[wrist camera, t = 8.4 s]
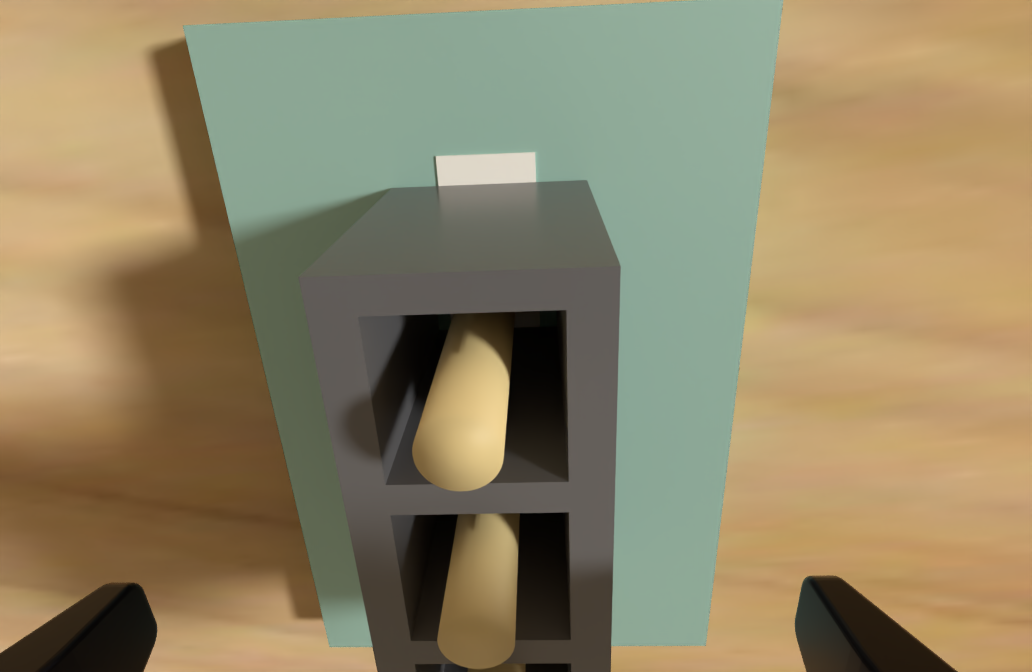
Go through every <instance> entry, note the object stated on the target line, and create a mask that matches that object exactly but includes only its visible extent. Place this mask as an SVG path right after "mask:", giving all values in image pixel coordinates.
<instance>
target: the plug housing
mask: <svg viewBox="0 0 1032 672" xmlns="http://www.w3.org/2000/svg"><path fill="white" fill-rule="evenodd" d="M620 276H621V266H620V263H619V260H618V258H617V255H616V253H615V250H614V248H613V245H612V243H611V240H610V238H609V235H608V232H607V230H606V227H605V225H604V222H603V220H602V217H601V215H600V212H599V209H598V207H597V204H596V202H595V199H594V197H593V194H592V192H591V189H590V187H589V184H588V181H587V180H575V181H551V182H526V183H502V184H477V185H453V186H428V187H404V188H391V189H390V190H389V191H388V192H387V193H386V194H385V195H384V196H383V197H382V198H381V199H380V200H379V201H378V202H377V203H376V204H375V205H374V206H372V207H371V208H370V209H369V210H368V211H367V212H366V213H365V214H364V215H363V216H362V217H361V218H360V219H359V220H358V221H357V222H356V223H355V224H354V225H353V226H351V227H350V228H349V229H348V230H347V231H346V232H345V233H344V234H343V235H342V236H341V237H340V238H339V239H338V240H337V241H336V242H335V243H334V244H333V245H332V246H331V247H329V248H328V249H327V250H326V251H325V252H324V253H323V254H322V255H321V256H320V257H319V258H318V259H317V260H316V261H315V262H314V263H313V264H312V265H311V266H310V267H309V268H307V269H306V270H305V271H304V272H303V273H302V274H301V275H300V276H299V277H298V278H299V283H300V288H301V293H302V298H303V303H304V308H305V313H306V318H307V323H308V328H309V333H310V338H311V343H312V348H313V353H314V358H315V363H316V368H317V373H318V378H319V383H320V388H321V393H322V398H323V403H324V407H325V412H326V417H327V422H328V427H329V432H330V437H331V442H332V447H333V452H334V457H335V462H336V467H337V472H338V477H339V482H340V487H341V492H342V497H343V502H344V507H345V512H346V517H347V522H348V527H349V532H350V537H351V542H352V547H353V552H354V557H355V562H356V567H357V572H358V577H359V582H360V587H361V591H362V596H363V601H364V606H365V611H366V616H367V621H368V626H369V631H370V636H371V641H372V646H373V651H374V656H375V661H376V666H377V671H378V672H468V668H466V667H463V666H460V665H457V664H455V663H453V662H451V661H450V660H449V659H447V658H446V657H445V656H444V655H443V654H442V652H441V651H440V649H439V646H438V642H437V637H438V631H439V625H440V619H441V613H442V607H443V601H444V595H445V590H446V584H447V578H448V572H449V566H450V560H451V554H452V548H453V542H454V536H455V530H456V524H457V518H458V514H500V513H520V518H519V546H518V574H517V603H516V631H515V648H514V651H513V653H512V654H511V656H510V657H509V658H508V659H507V660H506V661H504V662H503V663H501V664H525V672H611V636H612V596H613V556H614V516H615V476H616V436H617V396H618V356H619V316H620ZM553 310H557V326H553V327H520V328H514V335H513V347H512V360H511V372H510V385H509V398H508V410H507V423H506V435H505V448H504V460H503V464H502V467H501V469H500V471H499V473H498V474H497V476H496V477H495V478H494V479H493V480H492V481H491V482H489V483H488V484H486V485H485V486H483V487H481V488H478V489H475V490H471V491H451V490H446V489H443V488H440V487H438V486H436V485H434V484H432V483H431V482H429V481H428V480H427V479H426V478H424V477H423V476H422V474H421V473H420V472H419V471H418V469H417V467H416V465H415V463H414V460H413V455H412V447H413V442H414V439H415V436H416V433H417V429H418V426H419V423H420V420H421V417H422V413H423V410H424V407H425V404H426V401H427V397H428V394H429V391H430V388H431V385H432V381H433V378H434V375H435V372H436V369H437V365H438V362H439V359H440V356H441V353H442V349H443V346H444V343H445V340H446V337H447V333H448V330H439V323H438V314H457V313H489V312H521V311H553Z"/></svg>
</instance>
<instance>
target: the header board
mask: <svg viewBox="0 0 1032 672" xmlns="http://www.w3.org/2000/svg"><path fill="white" fill-rule="evenodd" d="M782 6H783V0H693V1H672V2H652V3H632V4H611V5H591V6H570V7H550V8H530V9H509V10H489V11H469V12H448V13H428V14H408V15H387V16H367V17H347V18H326V19H306V20H285V21H265V22H245V23H224V24H204V25H184V26H183V29H184V33H185V37H186V41H187V46H188V50H189V54H190V58H191V63H192V67H193V71H194V75H195V79H196V84H197V88H198V92H199V96H200V101H201V105H202V109H203V113H204V118H205V122H206V126H207V130H208V134H209V139H210V143H211V147H212V151H213V156H214V160H215V164H216V168H217V173H218V177H219V181H220V185H221V189H222V194H223V198H224V202H225V206H226V211H227V215H228V219H229V223H230V227H231V232H232V236H233V240H234V244H235V249H236V253H237V257H238V261H239V266H240V270H241V274H242V278H243V282H244V287H245V291H246V295H247V299H248V304H249V308H250V312H251V316H252V321H253V325H254V329H255V333H256V337H257V342H258V346H259V350H260V354H261V359H262V363H263V367H264V371H265V376H266V380H267V384H268V388H269V392H270V397H271V401H272V405H273V409H274V414H275V418H276V422H277V426H278V431H279V435H280V439H281V443H282V447H283V452H284V456H285V460H286V464H287V469H288V473H289V477H290V481H291V486H292V490H293V494H294V498H295V502H296V507H297V511H298V515H299V519H300V524H301V528H302V532H303V536H304V540H305V545H306V549H307V553H308V557H309V562H310V566H311V570H312V574H313V579H314V583H315V587H316V591H317V595H318V600H319V604H320V608H321V612H322V617H323V621H324V625H325V629H326V634H327V638H328V642H329V646H330V647H373V646H372V641H371V636H370V631H369V626H368V621H367V616H366V611H365V606H364V601H363V596H362V591H361V587H360V582H359V577H358V572H357V567H356V562H355V557H354V552H353V547H352V542H351V537H350V532H349V527H348V522H347V517H346V512H345V507H344V502H343V497H342V492H341V487H340V482H339V477H338V472H337V467H336V462H335V457H334V452H333V447H332V442H331V437H330V432H329V427H328V422H327V417H326V412H325V407H324V403H323V398H322V393H321V388H320V383H319V378H318V373H317V368H316V363H315V358H314V353H313V348H312V343H311V338H310V333H309V328H308V323H307V318H306V313H305V308H304V303H303V298H302V293H301V288H300V283H299V278H298V277H299V276H300V275H301V274H302V273H303V272H304V271H305V270H306V269H307V268H309V267H310V266H311V265H312V264H313V263H314V262H315V261H316V260H317V259H318V258H319V257H320V256H321V255H322V254H323V253H324V252H325V251H326V250H327V249H328V248H329V247H331V246H332V245H333V244H334V243H335V242H336V241H337V240H338V239H339V238H340V237H341V236H342V235H343V234H344V233H345V232H346V231H347V230H348V229H349V228H350V227H351V226H353V225H354V224H355V223H356V222H357V221H358V220H359V219H360V218H361V217H362V216H363V215H364V214H365V213H366V212H367V211H368V210H369V209H370V208H371V207H372V206H374V205H375V204H376V203H377V202H378V201H379V200H380V199H381V198H382V197H383V196H384V195H385V194H386V193H387V192H388V191H389V190H390V189H391V188H404V187H428V186H453V185H477V184H502V183H526V182H551V181H575V180H587V181H588V184H589V187H590V189H591V192H592V194H593V197H594V199H595V202H596V204H597V207H598V209H599V212H600V215H601V217H602V220H603V222H604V225H605V227H606V230H607V232H608V235H609V238H610V240H611V243H612V245H613V248H614V250H615V253H616V255H617V258H618V260H619V263H620V266H621V276H620V316H619V356H618V396H617V436H616V476H615V516H614V556H613V596H612V636H611V646H706V639H707V631H708V622H709V614H710V606H711V597H712V589H713V581H714V572H715V564H716V556H717V547H718V539H719V531H720V522H721V514H722V506H723V497H724V489H725V481H726V472H727V464H728V456H729V447H730V439H731V431H732V422H733V414H734V406H735V397H736V389H737V381H738V372H739V364H740V356H741V347H742V339H743V331H744V323H745V314H746V306H747V298H748V289H749V281H750V273H751V264H752V256H753V248H754V239H755V231H756V223H757V214H758V206H759V198H760V189H761V181H762V173H763V164H764V156H765V148H766V139H767V131H768V123H769V114H770V106H771V98H772V89H773V81H774V73H775V64H776V56H777V48H778V39H779V31H780V23H781V14H782ZM438 323H439V330H448V333H447V337H446V340H445V343H444V346H443V349H442V353H441V356H440V359H439V362H438V365H437V369H436V372H435V375H434V378H433V381H432V385H431V388H430V391H429V394H428V397H427V401H426V404H425V407H424V410H423V413H422V417H421V420H420V423H419V426H418V429H417V433H416V436H415V439H414V442H413V447H412V455H413V460H414V463H415V465H416V467H417V469H418V471H419V472H420V473H421V474H422V476H423V477H424V478H426V479H427V480H428V481H429V482H431V483H432V484H434V485H436V486H438V487H440V488H443V489H446V490H451V491H471V490H475V489H478V488H481V487H483V486H485V485H486V484H488V483H489V482H491V481H492V480H493V479H494V478H495V477H496V476H497V474H498V473H499V471H500V469H501V467H502V464H503V460H504V448H505V435H506V423H507V410H508V398H509V385H510V372H511V360H512V347H513V335H514V328H520V327H553V326H557V310H553V311H521V312H489V313H457V314H438ZM519 518H520V513H500V514H458V518H457V524H456V530H455V536H454V542H453V548H452V554H451V560H450V566H449V572H448V578H447V584H446V590H445V595H444V601H443V607H442V613H441V619H440V625H439V631H438V637H437V642H438V646H439V649H440V651H441V652H442V654H443V655H444V656H445V657H446V658H447V659H449V660H450V661H451V662H453V663H455V664H457V665H460V666H463V667H466V668H468V672H525V664H501V663H503V662H504V661H506V660H507V659H508V658H509V657H510V656H511V654H512V653H513V651H514V648H515V631H516V603H517V574H518V546H519Z"/></svg>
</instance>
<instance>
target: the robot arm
mask: <svg viewBox="0 0 1032 672" xmlns="http://www.w3.org/2000/svg"><path fill="white" fill-rule="evenodd" d="M795 632H796V637H797V641H798V645H799V648H800V651H801V655H802V658H803V662H804V665H805V668H806V672H957V671H956V670H955V669H954V668H952V667H951V666H950V665H949V664H947V663H946V662H945V661H944V660H942V659H941V658H940V657H939V656H938V655H936V654H935V653H934V652H933V651H931V650H930V649H929V648H928V647H926V646H925V645H924V644H923V643H921V642H920V641H919V640H918V639H916V638H915V637H914V636H913V635H911V634H910V633H909V632H908V631H906V630H905V629H904V628H903V627H902V626H900V625H899V624H898V623H897V622H895V621H894V620H893V619H892V618H890V617H889V616H888V615H887V614H885V613H884V612H883V611H882V610H880V609H879V608H878V607H877V606H875V605H874V604H873V603H872V602H870V601H869V600H868V599H867V598H865V597H864V596H863V595H862V594H861V593H859V592H858V591H857V590H856V589H854V588H853V587H852V586H851V585H849V584H848V583H847V582H846V581H844V580H843V579H841V578H839V577H837V576H808V577H806V578H805V579H804V581H803V583H802V587H801V592H800V597H799V602H798V607H797V612H796V617H795ZM156 637H157V624H156V620H155V618H154V615H153V613H152V610H151V608H150V605H149V603H148V600H147V598H146V595H145V593H144V590H143V588H142V587H141V586H140V585H139V584H137V583H109V584H105V585H103V586H102V587H100V588H98V589H97V590H95V591H94V592H92V593H91V594H89V595H88V596H86V597H85V598H83V599H82V600H80V601H79V602H77V603H76V604H74V605H73V606H71V607H69V608H68V609H66V610H65V611H63V612H62V613H60V614H59V615H57V616H56V617H54V618H53V619H51V620H50V621H48V622H47V623H45V624H44V625H42V626H41V627H39V628H38V629H36V630H35V631H33V632H32V633H30V634H29V635H27V636H26V637H24V638H23V639H21V640H20V641H18V642H17V643H15V644H14V645H12V646H11V647H9V648H7V649H6V650H4V651H3V652H1V653H0V672H144V669H145V667H146V664H147V662H148V659H149V657H150V654H151V652H152V649H153V647H154V644H155V641H156Z"/></svg>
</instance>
